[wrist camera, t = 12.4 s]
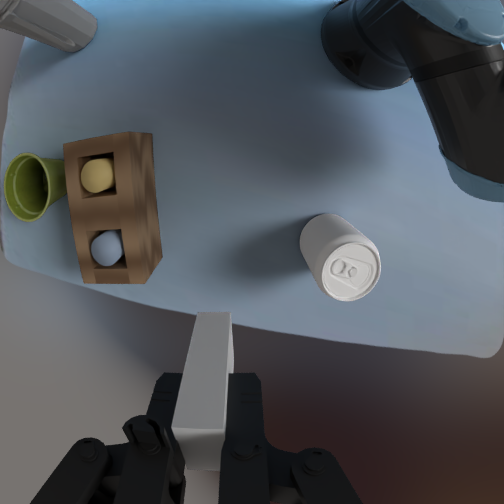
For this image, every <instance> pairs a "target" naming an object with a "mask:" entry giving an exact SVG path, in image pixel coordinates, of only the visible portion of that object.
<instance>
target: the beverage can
mask: <svg viewBox="0 0 504 504" xmlns="http://www.w3.org/2000/svg"><path fill="white" fill-rule="evenodd" d="M300 250H301V253H302V255H303V257H304V259H305V261H306V263H307V265H308V267H309V269H310V271H311V273H312V275H313V277H314V279H315V281H316V283H317V285H318V286H319V288H320V289H321V290H322V291H323V292H324V293H325V294H326V295H328V296H330V297H332V298H334V299H337V300H340V301H353V300H357V299H359V298H361V297H363V296H365V295H366V294H368V293H369V292H370V291H371V290H372V289H373V288H374V286H375V285H376V283H377V281H378V279H379V276H380V272H381V263H380V256H379V253H378V250H377V248H376V247H375V245H374V244H373V243H372V242H371V241H370V240H369V239H368V238H367V237H366V236H364V235H363V234H362V233H361V232H359V231H358V230H357V229H356V228H355V227H353V226H352V225H351V224H350V223H348V222H347V221H346V220H345V219H343V218H342V217H340V216H338V215H335V214H322V215H319V216H316V217H314V218H313V219H311V220H310V221H309V222H308V223H307V224H306V225H305V227H304V228H303V230H302V232H301V235H300Z"/></svg>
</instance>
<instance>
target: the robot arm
mask: <svg viewBox="0 0 504 504" xmlns="http://www.w3.org/2000/svg"><path fill="white" fill-rule="evenodd" d="M321 39H322V43H323V47H324V49H325V52H326V54H327V56H328V57H329V59H330V61H331V62H332V63H333V65H334V66H335V67H336V68H337V69H338V70H339V71H340V72H341V73H342V74H343V75H344V76H346V77H347V78H348V79H350V80H351V81H353V82H355V83H357V84H359V85H361V86H364V87H367V88H371V89H377V90H385V89H391V88H394V87H398V86H401V85H403V84H405V83H406V82H408V81H409V80H411V79H412V78H413V79H414V82H415V84H416V87H417V89H418V91H419V93H420V96H421V98H422V100H423V103H424V105H425V107H426V110H427V112H428V115H429V118H430V120H431V123H432V125H433V128H434V131H435V134H436V136H437V139H438V142H439V149H440V152H441V155H442V156H443V157H444V159H445V161H446V164H447V167H448V170H449V173H450V176H451V178H452V180H453V181H454V183H455V184H457V185H458V187H459V188H460V189H461V190H462V191H464V192H465V193H467V194H469V195H471V196H473V197H476V198H479V199H482V200H487V201H492V202H504V50H503V48H502V45H501V42H502V40H503V39H504V8H503V6H502V4H501V2H500V0H341V1H339V2H338V3H336V4H335V5H334V6H333V7H332V8H331V9H330V11H329V12H328V13H327V15H326V16H325V18H324V20H323V23H322V28H321ZM233 366H234V354H233V339H232V326H231V312H198V314H197V318H196V322H195V326H194V330H193V334H192V338H191V343H190V347H189V351H188V355H187V359H186V364H185V368H184V373H163V375H162V376H161V377H160V378H159V379H158V380H157V381H156V384H155V388H154V392H153V394H152V397H151V401H150V404H149V407H148V410H147V413H146V415H139V416H136V417H133V418H131V419H129V420H128V421H127V422H126V423H125V424H124V426H123V427H122V429H123V431H124V433H125V435H126V436H127V438H128V440H129V442H128V443H123V444H116V445H106V446H105V445H104V443H102V442H101V441H100V440H98V439H95V438H83V439H81V440H79V441H77V442H76V443H75V444H74V445H73V446H72V448H71V449H70V450H69V452H68V453H67V454H66V455H65V457H64V458H63V459H62V461H61V462H60V464H59V465H58V466H57V467H56V469H55V470H54V471H53V473H52V474H51V475H50V477H49V478H48V480H47V481H46V482H45V484H44V485H43V486H42V488H41V489H40V491H39V492H38V493H37V495H36V496H35V497H34V499H33V500H32V501H31V503H30V504H184V495H185V487H186V480H185V476H184V468H185V464H186V467H187V469H190V470H206V471H220V481H219V482H220V483H219V501H218V502H219V503H218V504H270V501H273V502H277V503H282V504H363V503H362V502H361V500H360V498H359V497H358V495H357V493H356V492H355V490H354V489H353V487H352V485H351V483H350V482H349V480H348V478H347V477H346V475H345V473H344V472H343V470H342V468H341V467H340V465H339V463H338V462H337V460H336V458H335V457H334V456H333V455H332V454H331V453H330V452H329V451H327V450H325V449H321V448H315V447H314V448H308V449H304V450H302V451H300V452H298V453H292V452H287V451H283V450H279V449H277V448H275V447H273V446H272V445H271V444H270V443H269V442H268V441H267V439H266V438H265V433H264V420H263V405H262V392H261V381H260V380H259V378H258V377H257V375H256V374H255V373H233Z"/></svg>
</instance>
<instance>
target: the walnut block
mask: <svg viewBox="0 0 504 504" xmlns="http://www.w3.org/2000/svg"><path fill="white" fill-rule="evenodd" d="M63 150H64V164H65V176H66V185H67V194H68V202H69V209H70V216H71V223H72V229H73V234H74V240H75V245H76V250H77V255H78V260H79V265H80V269H81V274H82V278H83V282H84V283H93V284H145V283H146V281H147V280H148V278H149V277H150V275H151V274H152V272H153V271H154V269H155V268H156V266H157V265H158V263H159V262H160V260H161V259H162V249H161V240H160V231H159V222H158V212H157V201H156V189H155V176H154V160H153V140H152V134H151V133H139V132H124V133H117V134H111V135H106V136H100V137H95V138H89V139H84V140H79V141H75V142H70V143H66V144H63ZM109 157H114V167H115V179H116V186H113V187H111V188H108V189H105V190H103V191H100V192H97V193H92V192H89V191H88V190H86V189H85V187H84V186H83V184H82V181H81V172H82V169H83V167H84V165H85V164H86V163H87V162H89V161H91V160H96V159H103V158H109ZM113 229H121V232H122V238H123V245H124V251H125V253H124V254H123V255H122V256H121V257H120V258H119V259H118V260H117V261H116V262H115V263H114V264H113V265H111V266H103V265H101V264H99V263H98V262H97V261H96V260H95V259H94V257H93V255H92V252H91V246H92V243H93V241H94V240H95V239H96V238H97V237H99V236H100V235H101V234H103V233H104V232H105V231H107V230H113Z"/></svg>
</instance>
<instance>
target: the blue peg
mask: <svg viewBox="0 0 504 504" xmlns="http://www.w3.org/2000/svg"><path fill="white" fill-rule="evenodd" d="M91 252H92V255H93V257H94V259H95V260H96V261H97V262H98V263H99V264H101V265H103V266H111V265H113V264H114V263H115V262H116V261H117V260H118V259H119V258H120V257H121V256H122V255H123V254H124V253H125V251H124V245H123V238H122V232H121V229H113V230H107V231H105V232H104V233H103V234H101V235H100V236H99V237H97V238H96V239H95V240H94V241H93V243H92V246H91Z"/></svg>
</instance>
